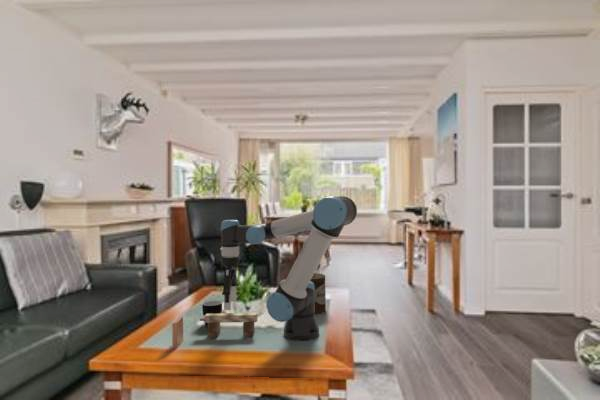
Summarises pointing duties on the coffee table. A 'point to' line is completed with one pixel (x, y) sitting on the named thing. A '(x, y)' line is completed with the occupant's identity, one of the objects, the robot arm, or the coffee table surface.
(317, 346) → the coffee table surface
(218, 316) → the beige stone bar
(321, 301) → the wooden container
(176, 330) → the tile
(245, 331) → the tool rest
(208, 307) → the mug
